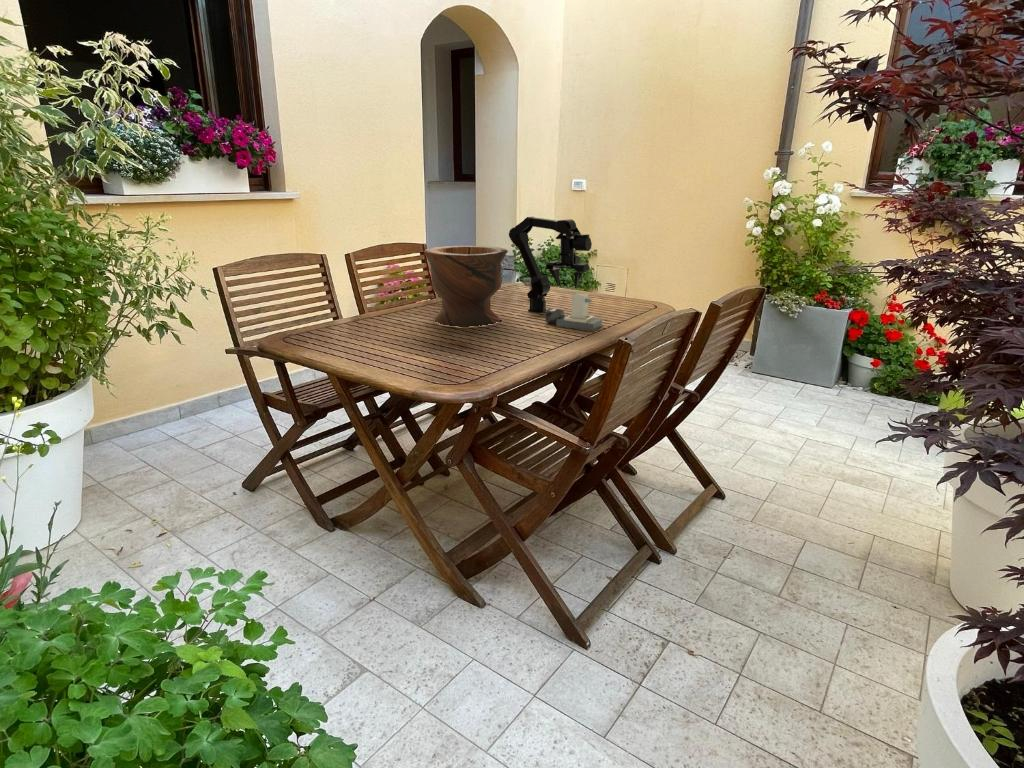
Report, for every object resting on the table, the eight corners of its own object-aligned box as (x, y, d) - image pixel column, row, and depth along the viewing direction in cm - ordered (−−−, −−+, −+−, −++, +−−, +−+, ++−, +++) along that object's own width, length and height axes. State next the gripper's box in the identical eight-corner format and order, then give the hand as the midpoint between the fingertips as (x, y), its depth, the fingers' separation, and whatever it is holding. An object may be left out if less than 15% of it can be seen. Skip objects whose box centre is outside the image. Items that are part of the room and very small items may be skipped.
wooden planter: (494, 309, 281) (493, 244, 271) (518, 326, 249) (519, 254, 240) (419, 314, 270) (416, 247, 261) (435, 333, 239) (432, 257, 229)
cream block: (571, 319, 248) (572, 295, 245) (576, 317, 252) (577, 293, 249) (587, 321, 245) (588, 297, 242) (592, 319, 249) (593, 294, 246)
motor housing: (543, 325, 252) (543, 310, 250) (553, 320, 260) (553, 306, 258) (593, 331, 242) (593, 316, 240) (601, 326, 251) (602, 311, 249)
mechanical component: (542, 298, 303) (542, 278, 300) (521, 298, 304) (522, 278, 300) (542, 297, 306) (542, 277, 303) (521, 297, 306) (522, 277, 303)
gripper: (595, 248, 262) (594, 284, 267) (558, 246, 272) (558, 281, 277) (583, 252, 253) (582, 289, 259) (544, 249, 263) (545, 285, 269)
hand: (567, 286), depth 266 cm, fingers open, 9 cm apart
